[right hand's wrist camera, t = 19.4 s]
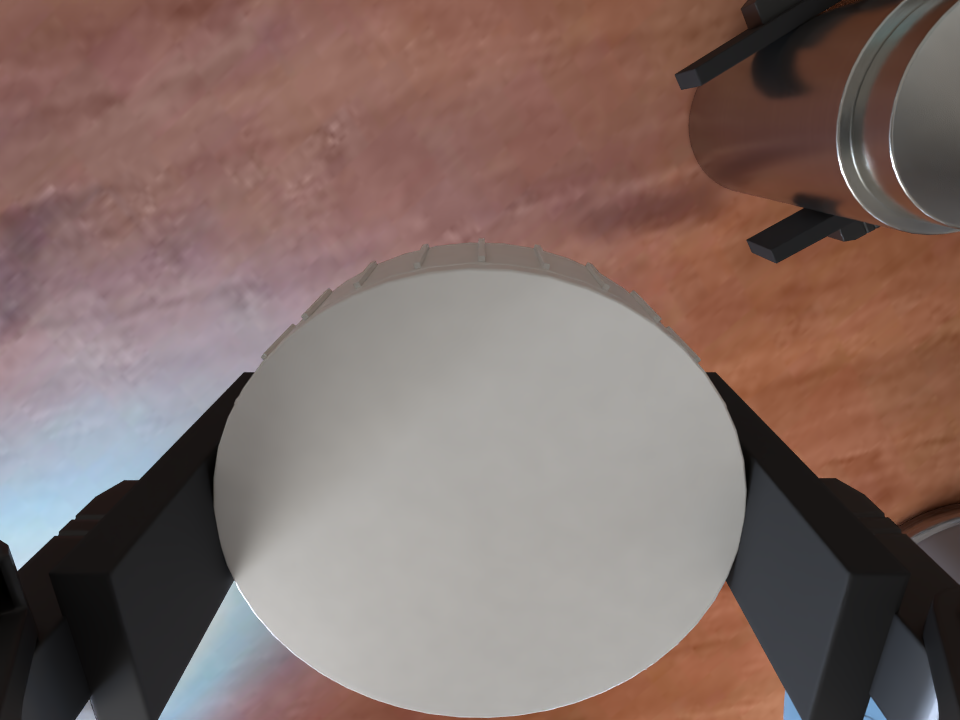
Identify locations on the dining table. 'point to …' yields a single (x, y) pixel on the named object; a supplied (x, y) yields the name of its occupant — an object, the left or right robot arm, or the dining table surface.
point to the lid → (479, 483)
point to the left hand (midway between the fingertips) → (726, 169)
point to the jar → (845, 117)
